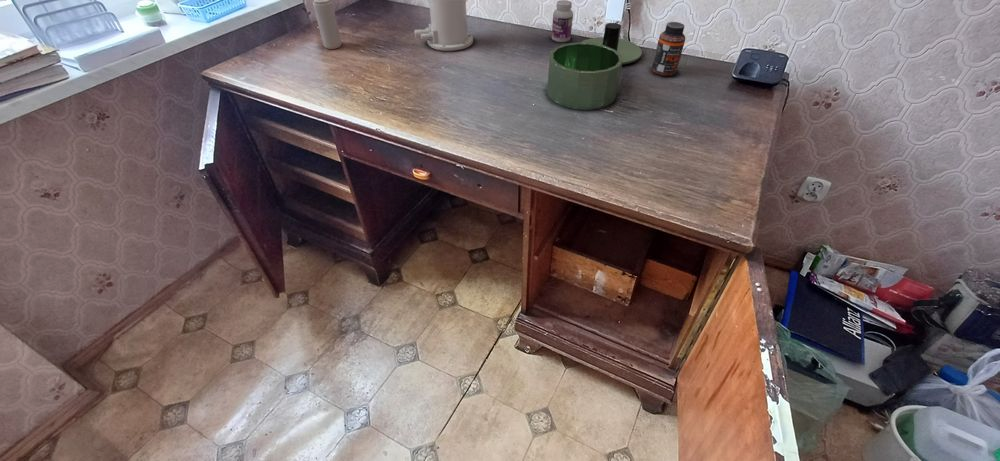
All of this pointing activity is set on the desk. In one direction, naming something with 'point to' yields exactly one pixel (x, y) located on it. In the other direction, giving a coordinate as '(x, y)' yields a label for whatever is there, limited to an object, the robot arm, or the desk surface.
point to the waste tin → (584, 75)
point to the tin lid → (617, 43)
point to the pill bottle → (562, 21)
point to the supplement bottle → (669, 49)
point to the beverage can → (327, 23)
